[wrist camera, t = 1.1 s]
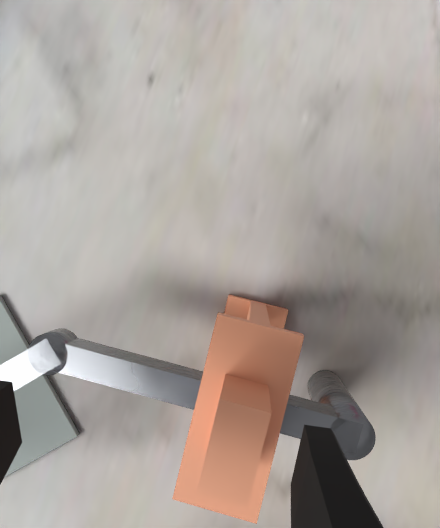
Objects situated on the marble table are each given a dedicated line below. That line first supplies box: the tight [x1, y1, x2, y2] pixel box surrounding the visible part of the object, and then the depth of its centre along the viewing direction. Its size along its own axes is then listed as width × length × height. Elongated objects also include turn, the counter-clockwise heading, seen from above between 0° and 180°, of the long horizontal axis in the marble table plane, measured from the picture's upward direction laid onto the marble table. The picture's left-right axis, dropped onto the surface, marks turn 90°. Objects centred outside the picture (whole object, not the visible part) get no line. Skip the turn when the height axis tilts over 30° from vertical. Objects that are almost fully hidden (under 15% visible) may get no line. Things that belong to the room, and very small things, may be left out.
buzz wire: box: [0, 328, 375, 460], centre depth 19 cm, size 8×24×6 cm, turn 105°
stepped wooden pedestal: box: [173, 294, 304, 524], centre depth 17 cm, size 3×7×10 cm, turn 166°
